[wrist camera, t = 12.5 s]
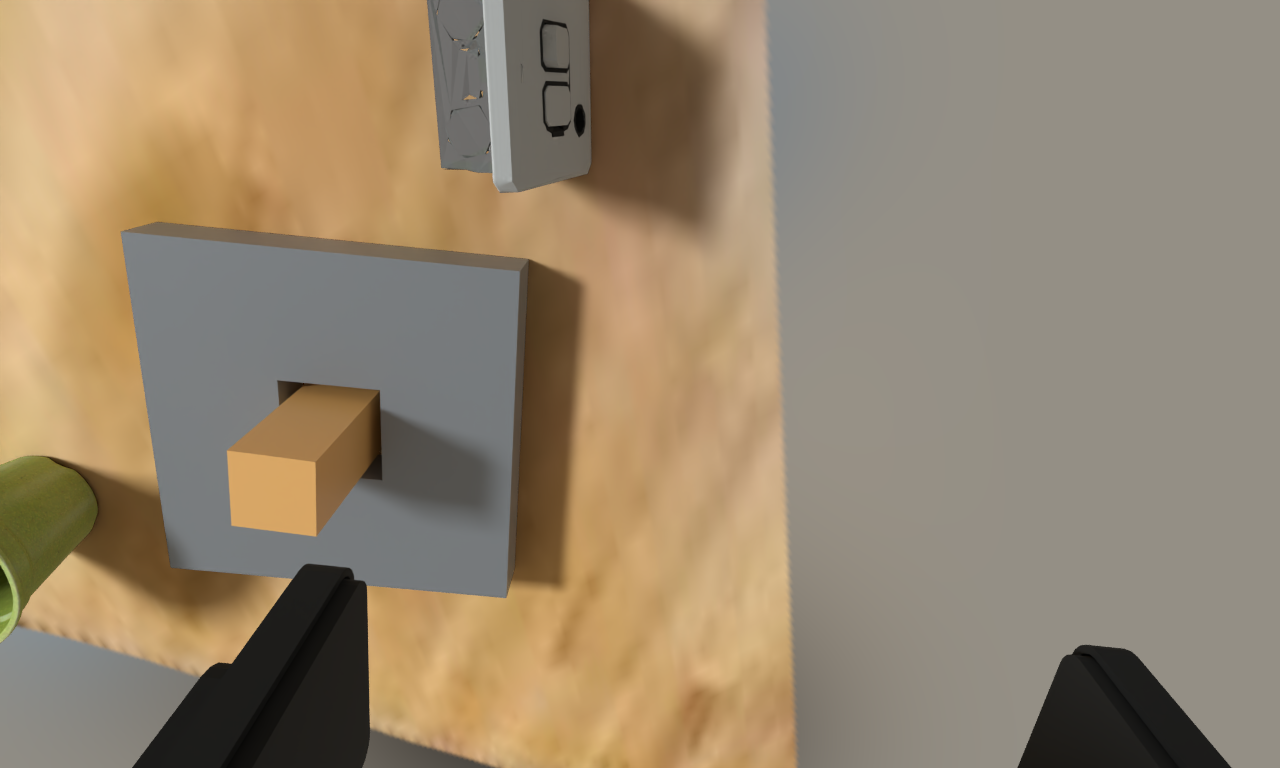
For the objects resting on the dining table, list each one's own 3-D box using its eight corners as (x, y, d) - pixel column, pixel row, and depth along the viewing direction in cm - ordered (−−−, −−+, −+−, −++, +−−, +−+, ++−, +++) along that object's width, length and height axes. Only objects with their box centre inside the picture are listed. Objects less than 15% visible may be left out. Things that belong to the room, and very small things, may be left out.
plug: (317, 373, 44) (226, 450, 35) (386, 383, 44) (315, 462, 35) (317, 435, 45) (231, 525, 36) (385, 445, 45) (316, 536, 36)
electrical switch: (593, 173, 40) (554, 196, 31) (496, 172, 40) (431, 193, 32) (590, -29, 36) (545, -67, 28) (484, -28, 37) (409, -65, 28)
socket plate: (157, 222, 41) (120, 231, 38) (528, 259, 41) (520, 271, 38) (198, 539, 48) (170, 567, 45) (514, 568, 48) (506, 598, 46)
